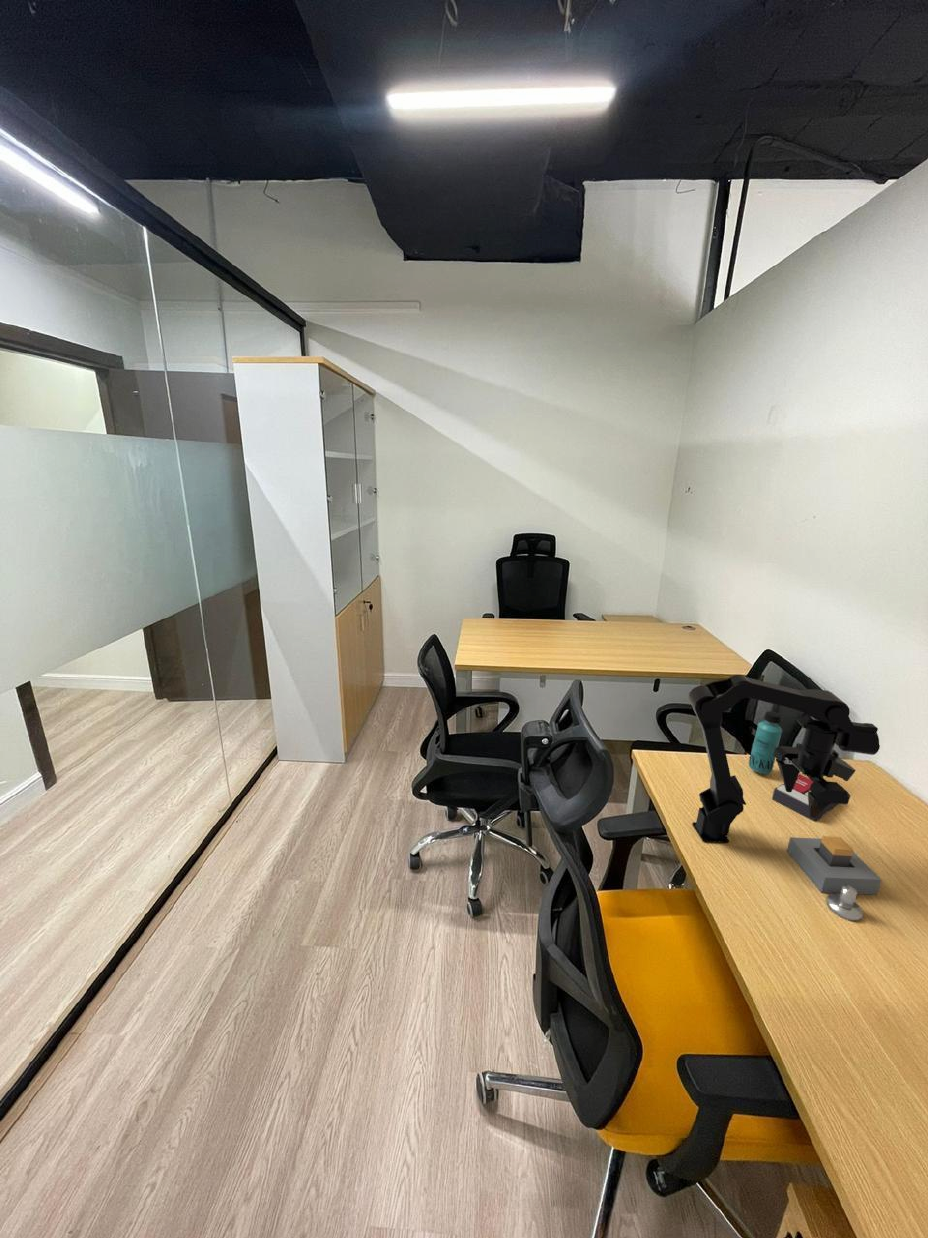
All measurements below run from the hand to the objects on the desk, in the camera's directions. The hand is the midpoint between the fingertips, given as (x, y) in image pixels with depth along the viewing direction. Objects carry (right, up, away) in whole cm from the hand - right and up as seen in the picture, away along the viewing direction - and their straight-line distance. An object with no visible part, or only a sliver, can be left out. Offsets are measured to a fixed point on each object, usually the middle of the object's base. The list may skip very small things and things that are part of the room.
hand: (799, 804), depth 114 cm
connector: (+4, -14, -4) cm, 15 cm away
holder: (+4, -14, -4) cm, 15 cm away
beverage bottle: (+11, -3, +34) cm, 35 cm away
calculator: (+16, -8, +21) cm, 27 cm away
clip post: (0, -17, -13) cm, 21 cm away
